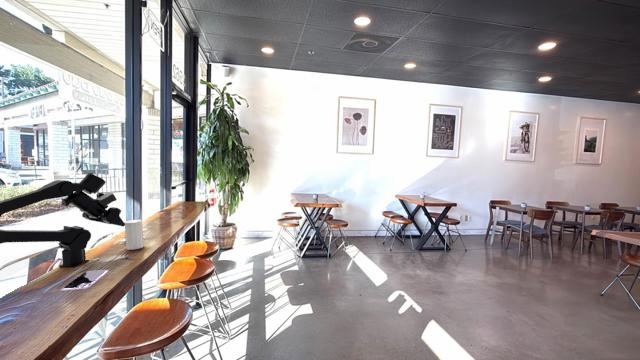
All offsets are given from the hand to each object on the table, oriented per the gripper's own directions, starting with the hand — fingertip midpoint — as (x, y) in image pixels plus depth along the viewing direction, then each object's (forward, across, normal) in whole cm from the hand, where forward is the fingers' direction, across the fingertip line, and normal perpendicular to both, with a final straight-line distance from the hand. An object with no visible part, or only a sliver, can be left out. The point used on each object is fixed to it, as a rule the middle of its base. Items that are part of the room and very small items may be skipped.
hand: (118, 224), depth 125 cm
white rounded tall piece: (+13, 0, +4) cm, 14 cm away
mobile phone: (-7, -20, +24) cm, 32 cm away
